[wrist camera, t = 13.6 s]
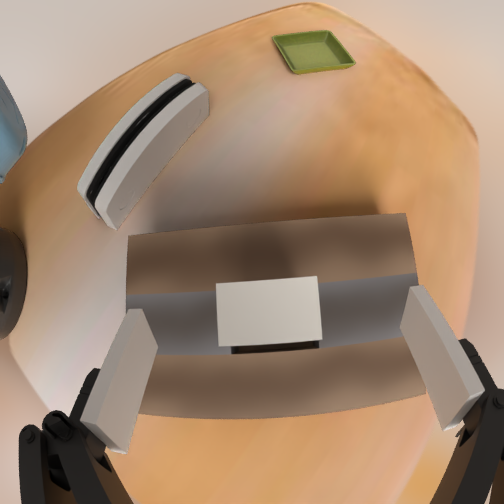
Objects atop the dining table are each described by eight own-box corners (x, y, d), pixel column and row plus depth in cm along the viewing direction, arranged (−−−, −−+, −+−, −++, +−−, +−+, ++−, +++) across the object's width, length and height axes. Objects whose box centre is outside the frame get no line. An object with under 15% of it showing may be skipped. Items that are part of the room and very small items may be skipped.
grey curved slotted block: (178, 101, 33) (178, 49, 23) (209, 120, 33) (217, 70, 23) (88, 210, 30) (52, 186, 20) (119, 234, 30) (90, 218, 20)
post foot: (401, 384, 22) (425, 393, 18) (156, 400, 24) (131, 412, 19) (386, 233, 26) (405, 213, 21) (152, 252, 28) (128, 235, 23)
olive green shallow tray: (271, 46, 35) (270, 35, 33) (328, 39, 35) (329, 29, 32) (291, 83, 32) (291, 71, 30) (354, 75, 32) (357, 63, 30)
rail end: (299, 335, 24) (322, 339, 11) (250, 339, 24) (218, 346, 11) (297, 305, 24) (316, 275, 12) (248, 308, 24) (215, 283, 12)
